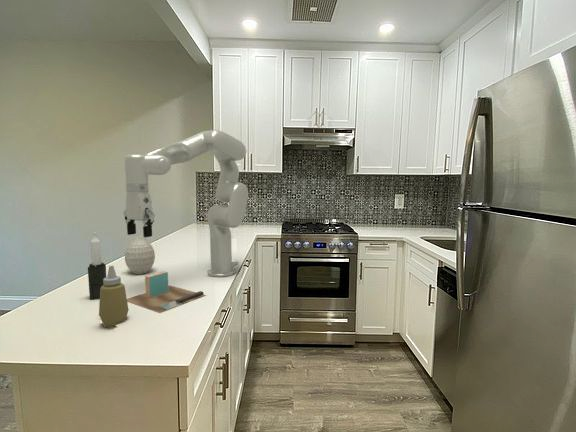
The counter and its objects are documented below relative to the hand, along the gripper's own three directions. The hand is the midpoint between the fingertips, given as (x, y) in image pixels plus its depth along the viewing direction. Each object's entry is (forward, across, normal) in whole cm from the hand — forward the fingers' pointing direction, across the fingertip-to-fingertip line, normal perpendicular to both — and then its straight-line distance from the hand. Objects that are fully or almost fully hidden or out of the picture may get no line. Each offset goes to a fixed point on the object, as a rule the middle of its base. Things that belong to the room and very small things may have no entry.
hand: (139, 235), depth 128 cm
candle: (+23, +9, +12) cm, 27 cm away
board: (+23, -12, -1) cm, 26 cm away
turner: (+22, -20, -2) cm, 30 cm away
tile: (+22, -8, -1) cm, 23 cm away
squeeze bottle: (+23, -15, +20) cm, 34 cm away
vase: (+23, +28, -18) cm, 41 cm away
